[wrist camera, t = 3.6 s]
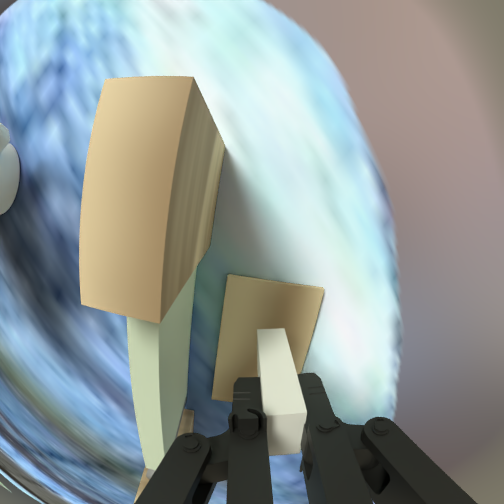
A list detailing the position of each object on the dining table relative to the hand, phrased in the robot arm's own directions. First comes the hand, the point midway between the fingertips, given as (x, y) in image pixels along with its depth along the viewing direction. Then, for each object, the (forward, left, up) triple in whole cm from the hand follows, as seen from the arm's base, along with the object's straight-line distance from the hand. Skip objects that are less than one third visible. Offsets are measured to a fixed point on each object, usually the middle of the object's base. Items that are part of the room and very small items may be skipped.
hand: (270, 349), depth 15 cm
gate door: (-5, -2, -3) cm, 6 cm away
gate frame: (-2, -2, -3) cm, 4 cm away
